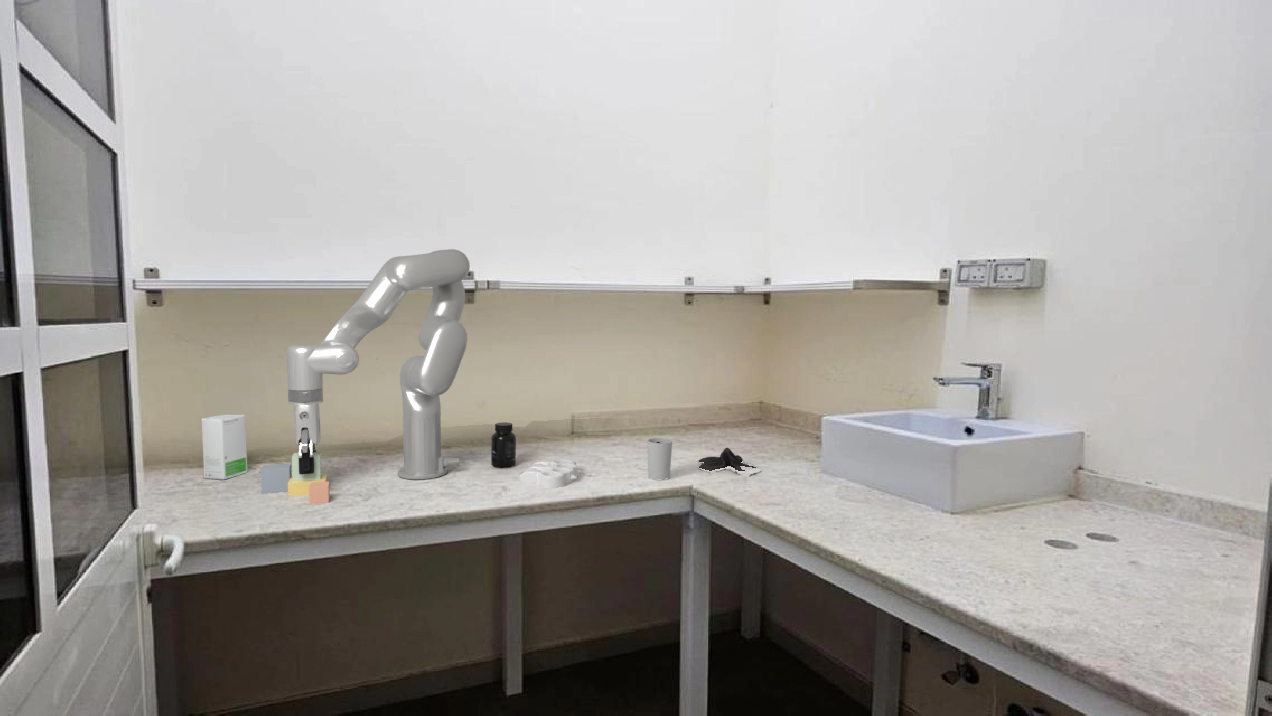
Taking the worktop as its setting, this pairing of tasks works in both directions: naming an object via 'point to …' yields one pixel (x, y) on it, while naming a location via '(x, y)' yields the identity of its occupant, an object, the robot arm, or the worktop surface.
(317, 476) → the sage block
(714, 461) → the cloth
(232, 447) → the skincare box
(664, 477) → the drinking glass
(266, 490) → the slate block
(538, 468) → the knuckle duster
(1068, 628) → the worktop surface
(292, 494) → the ochre block
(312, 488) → the terracotta cube
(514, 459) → the supplement bottle
